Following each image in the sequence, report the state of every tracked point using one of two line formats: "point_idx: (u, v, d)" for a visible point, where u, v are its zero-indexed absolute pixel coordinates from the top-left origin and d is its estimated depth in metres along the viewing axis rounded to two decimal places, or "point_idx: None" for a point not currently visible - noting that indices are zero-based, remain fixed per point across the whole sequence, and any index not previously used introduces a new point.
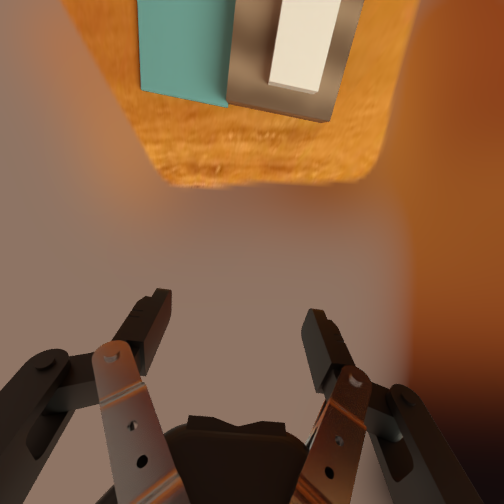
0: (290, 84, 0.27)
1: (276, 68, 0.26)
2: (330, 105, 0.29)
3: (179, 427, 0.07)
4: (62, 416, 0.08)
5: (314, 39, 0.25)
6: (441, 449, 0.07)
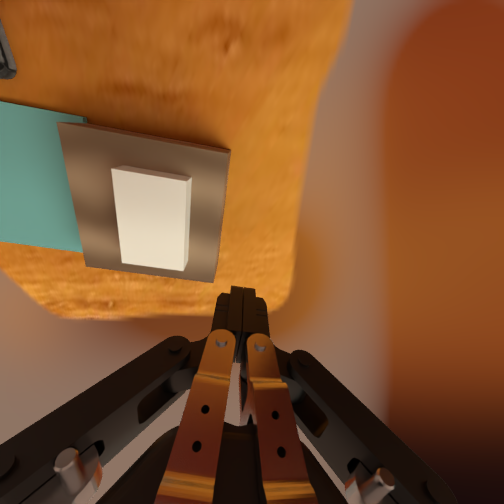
0: (148, 265, 0.23)
1: (127, 252, 0.22)
2: (210, 269, 0.25)
3: (179, 427, 0.07)
4: (169, 397, 0.09)
5: (164, 227, 0.21)
6: (338, 391, 0.08)
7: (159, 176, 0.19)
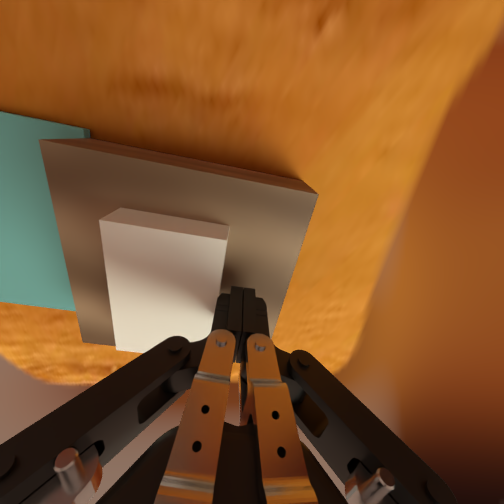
0: None
1: (124, 337, 0.14)
2: None
3: (179, 427, 0.07)
4: (169, 397, 0.09)
5: (184, 305, 0.13)
6: (339, 391, 0.08)
7: (181, 231, 0.11)
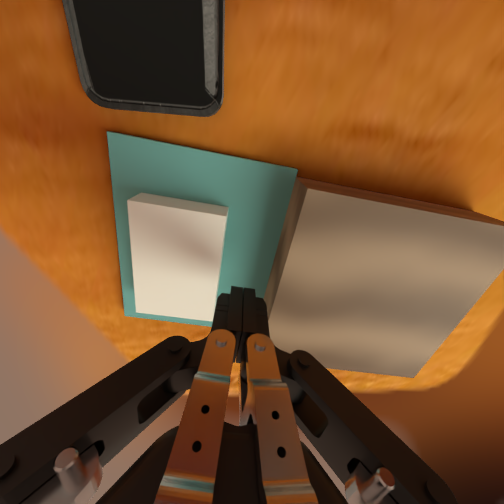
0: None
1: None
2: (418, 364, 0.19)
3: (179, 427, 0.07)
4: (169, 397, 0.09)
5: None
6: (338, 391, 0.08)
7: (174, 198, 0.15)
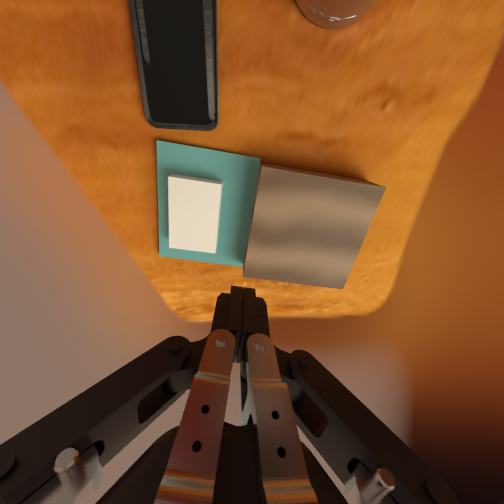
0: None
1: None
2: (343, 278, 0.30)
3: (179, 427, 0.07)
4: (169, 397, 0.09)
5: None
6: (338, 391, 0.08)
7: (191, 177, 0.27)
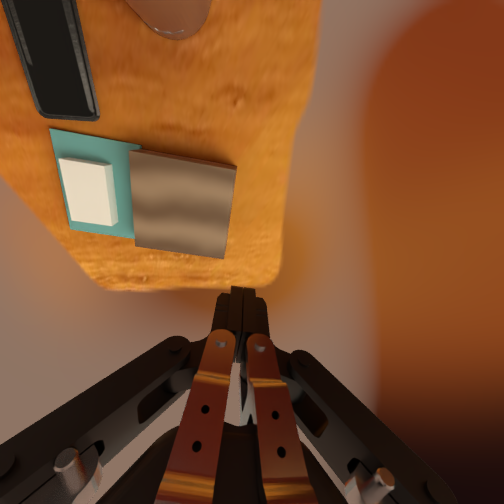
0: None
1: None
2: (221, 249, 0.36)
3: (179, 427, 0.07)
4: (169, 397, 0.09)
5: None
6: (338, 391, 0.08)
7: (84, 160, 0.33)
